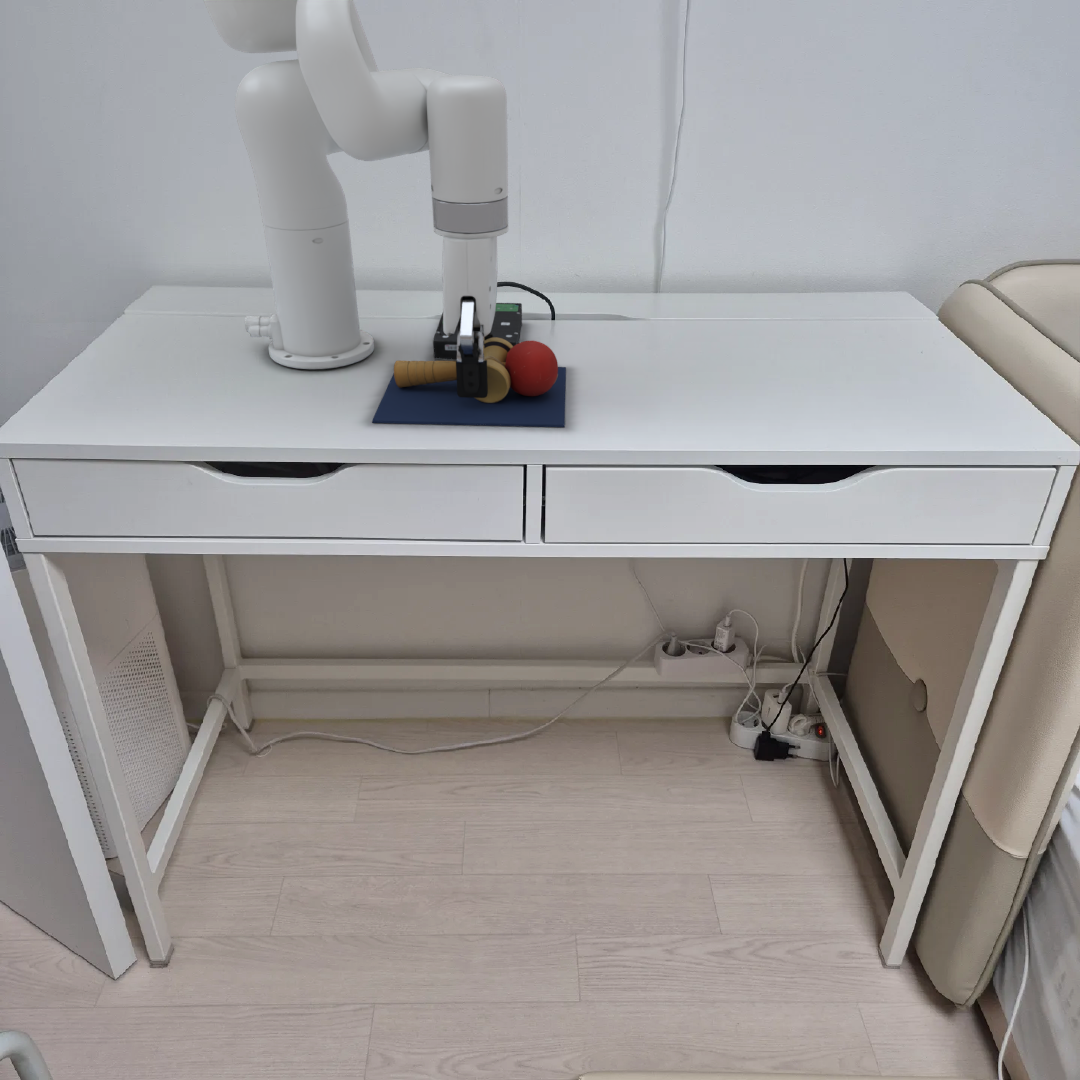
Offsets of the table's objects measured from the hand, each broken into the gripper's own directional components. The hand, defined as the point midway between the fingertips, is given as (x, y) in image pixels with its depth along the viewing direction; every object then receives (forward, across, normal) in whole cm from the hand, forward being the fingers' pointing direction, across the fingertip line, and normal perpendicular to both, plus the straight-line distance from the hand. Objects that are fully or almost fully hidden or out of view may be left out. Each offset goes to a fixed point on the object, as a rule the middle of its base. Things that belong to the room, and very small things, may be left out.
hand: (476, 380), depth 99 cm
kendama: (+2, 0, 0) cm, 2 cm away
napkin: (+2, 0, 0) cm, 2 cm away
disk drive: (+2, -17, -1) cm, 17 cm away
